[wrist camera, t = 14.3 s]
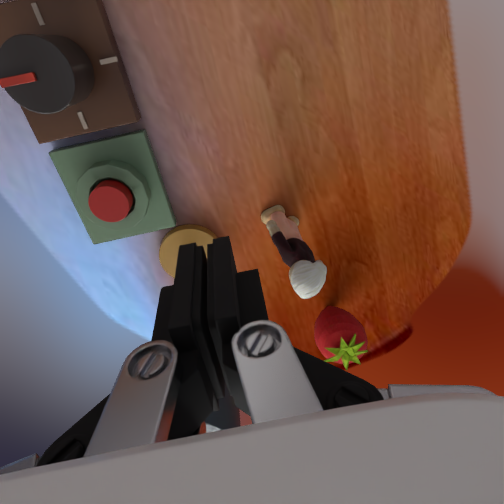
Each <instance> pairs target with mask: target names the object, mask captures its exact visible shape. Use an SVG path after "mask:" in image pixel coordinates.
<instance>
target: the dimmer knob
mask: <svg viewBox="0 0 504 504" xmlns="http://www.w3.org/2000/svg"><path fill="white" fill-rule="evenodd" d="M0 85H1V87H2V88H5V90H6V91H7V93H8V94H9V95H10V96H11V97H12V98H13V99H14V100H15V101H16V102H17V103H18V104H20V105H21V106H23V107H24V108H26V109H28V110H30V111H33V112H36V113H40V114H54V113H57V112H60V111H62V110H64V109H66V108H68V107H70V106H73V105H75V104H77V103H79V102H81V101H83V100H85V99H86V98H87V97H88V96H89V94H90V93H91V91H92V89H93V86H94V70H93V67H92V64H91V61H90V59H89V58H88V56H87V54H86V53H85V52H84V51H83V49H82V48H81V47H80V46H79V45H77V44H76V43H75V42H73V41H72V40H70V39H68V38H66V37H63V36H58V35H43V34H18V35H14V36H12V37H10V38H9V39H7V40H6V41H5V42H4V43H3V44H2V46H1V47H0Z"/></svg>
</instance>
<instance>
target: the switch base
mask: <svg viewBox="0 0 504 504" xmlns="http://www.w3.org/2000/svg"><path fill="white" fill-rule="evenodd" d="M49 155H50V157H51V159H52V161H53V163H54V165H55V167H56V169H57V171H58V173H59V175H60V177H61V179H62V181H63V183H64V185H65V187H66V189H67V191H68V193H69V195H70V197H71V199H72V201H73V204H74V206H75V208H76V210H77V212H78V214H79V216H80V218H81V220H82V222H83V224H84V226H85V228H86V230H87V232H88V234H89V236H90V238H91V240H92V242H93V244H98V243H103V242H107V241H112V240H116V239H121V238H126V237H130V236H135V235H139V234H144V233H148V232H153V231H157V230H162V229H166V228H171V227H175V226H176V222H177V221H176V218H175V215H174V213H173V210H172V207H171V204H170V201H169V198H168V195H167V192H166V189H165V186H164V183H163V180H162V177H161V174H160V171H159V168H158V165H157V162H156V159H155V156H154V153H153V150H152V147H151V144H150V141H149V138H148V136H147V133H146V130H145V129H143V130H139V131H134V132H130V133H125V134H121V135H116V136H112V137H107V138H103V139H98V140H94V141H89V142H85V143H80V144H76V145H71V146H67V147H62V148H58V149H53V150H52V151H51V152H49ZM105 180H116V181H119V182H121V183H123V184H124V185H126V186H127V187H128V189H129V190H130V192H131V194H132V197H133V203H132V206H131V208H130V210H129V212H128V214H127V216H126V217H125V218H124V219H122V220H120V221H118V222H106V221H103V220H101V219H99V218H97V217H96V216H95V215H94V214H93V213H92V211H91V210H90V207H89V204H88V199H89V195H90V193H91V192H92V191H93V189H94V188H95V187H96V186H97V185H98V184H99V183H100V182H102V181H105Z"/></svg>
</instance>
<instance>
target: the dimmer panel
mask: <svg viewBox="0 0 504 504" xmlns="http://www.w3.org/2000/svg"><path fill="white" fill-rule="evenodd" d="M18 34H43V35H58V36H63V37H66V38H68V39H70V40H72V41H73V42H75V43H76V44H77V45H79V46H80V47H81V48H82V49H83V51H84V52H85V53H86V54H87V56H88V58H89V59H90V61H91V64H92V67H93V70H94V86H93V89H92V91H91V93H90V94H89V96H88V97H87V98H86V99H85V100H83V101H81V102H79V103H77V104H75V105H73V106H70V107H68V108H66V109H64V110H62V111H60V112H57V113H54V114H40V113H36V112H33V111H30V110H28V109H26V108H24V107H23V106H21V105H20V106H21V108H22V110H23V112H24V114H25V116H26V118H27V120H28V122H29V124H30V126H31V128H32V130H33V132H34V134H35V136H36V138H37V140H38V142H39V144H41V143H46V142H50V141H55V140H59V139H64V138H68V137H73V136H77V135H82V134H86V133H91V132H95V131H100V130H104V129H109V128H113V127H118V126H122V125H127V124H131V123H136V122H138V121H139V120H140V119H141V115H140V112H139V109H138V106H137V103H136V100H135V97H134V94H133V91H132V88H131V85H130V82H129V79H128V76H127V73H126V70H125V67H124V64H123V61H122V59H121V56H120V53H119V50H118V47H117V44H116V41H115V38H114V35H113V32H112V29H111V26H110V23H109V20H108V17H107V14H106V11H105V8H104V5H103V2H102V0H16V1H11V2H7V3H2V4H0V47H1V46H2V44H3V43H4V42H5V41H6V40H7V39H9V38H10V37H12V36H14V35H18Z"/></svg>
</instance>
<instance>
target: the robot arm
mask: <svg viewBox="0 0 504 504" xmlns="http://www.w3.org/2000/svg"><path fill="white" fill-rule="evenodd" d="M224 379H225V381H224ZM225 382H226V385H227V388H228V391H229V395H230V396H233V399H234V402H235V406H236V407H237V408H239V409H240V410H242V411H243V412H245V413H246V414H248V415H249V416H251V420H252V424H251V425H245V426H240V427H235V428H230V429H225V430H220V431H215V432H209V433H206V423H205V420H206V418H207V417H208V416H209V415H210V414H211V413H212V412H213V411H218V410H219V398H223V397H225ZM0 504H504V397H501V396H497V395H495V394H494V393H492V392H490V391H488V390H486V389H483V388H481V387H475V386H469V385H465V386H464V385H403V384H401V385H399V384H388V389H377V388H376V387H375V386H373V385H371V384H370V383H368V382H367V381H365V380H363V379H361V378H359V377H357V376H354V375H352V374H350V373H348V372H346V371H344V370H342V369H340V368H337V367H335V366H333V365H331V364H329V363H327V362H325V361H323V360H320V359H318V358H316V357H314V356H312V355H310V354H308V353H305V352H303V351H301V350H299V349H297V348H295V347H293V346H292V344H291V342H290V340H289V338H288V336H287V334H286V332H285V330H284V329H283V328H282V327H281V326H280V325H278V324H277V323H275V322H272V321H269V320H268V315H267V310H266V306H265V301H264V296H263V292H262V287H261V282H260V277H259V273H258V269H254V270H249V271H244V272H239V273H237V270H236V265H235V261H234V256H233V252H232V247H231V243H230V239H229V236H226V237H221V238H216V239H213V243H212V244H207V258H206V254H205V250H204V247H203V245H202V246H197V244H196V242H195V243H190V244H185V245H180V246H179V250H178V257H177V265H176V272H175V279H174V285H172V286H166V287H163V288H162V289H161V292H160V297H159V303H158V308H157V314H156V319H155V325H154V330H153V336H152V341H150V342H147V343H145V344H142V345H140V346H139V347H138V348H136V349H135V350H133V351H132V352H131V353H130V354H129V355H128V356H127V358H126V360H125V362H124V363H123V365H122V368H121V370H120V372H119V375H118V377H117V379H116V382H115V384H114V386H113V389H112V391H111V393H110V394H109V395H108V396H107V397H106V398H104V399H103V400H102V401H101V402H100V403H99V404H97V405H96V406H95V407H94V408H93V409H92V410H91V411H89V412H88V413H87V414H86V415H85V416H84V417H83V418H81V419H80V420H79V421H78V422H77V423H75V424H74V425H73V426H72V427H71V428H70V429H69V430H67V431H66V432H65V433H64V434H63V435H62V436H61V437H59V438H58V439H57V440H56V441H55V442H54V443H53V444H52V445H51V446H50V447H49V448H48V449H47V450H46V451H45V452H44V454H43V455H42V456H41V457H39V456H38V454H33V455H31V456H28V457H26V458H23V459H21V460H18V461H16V462H13V463H11V464H9V465H6V466H4V467H1V468H0Z"/></svg>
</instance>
